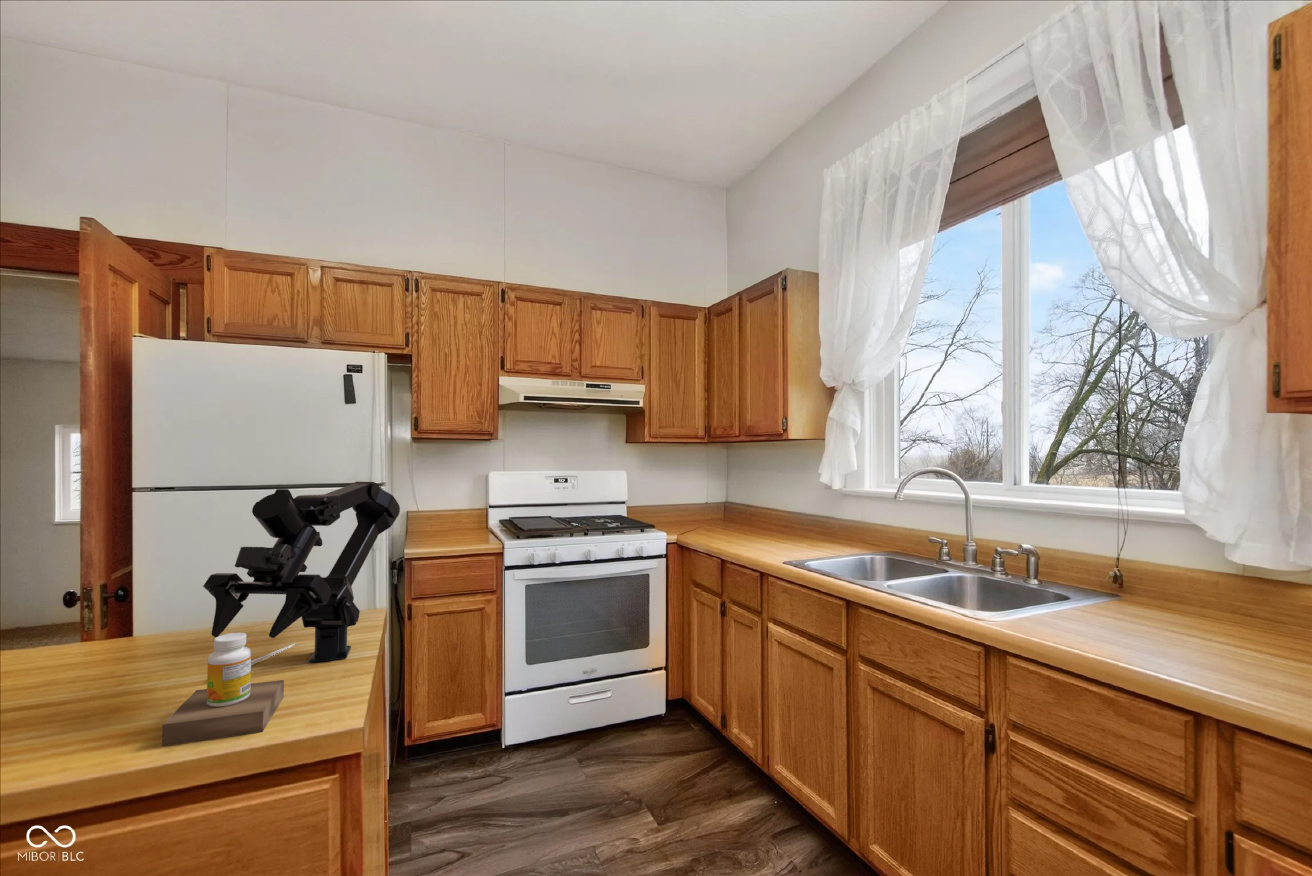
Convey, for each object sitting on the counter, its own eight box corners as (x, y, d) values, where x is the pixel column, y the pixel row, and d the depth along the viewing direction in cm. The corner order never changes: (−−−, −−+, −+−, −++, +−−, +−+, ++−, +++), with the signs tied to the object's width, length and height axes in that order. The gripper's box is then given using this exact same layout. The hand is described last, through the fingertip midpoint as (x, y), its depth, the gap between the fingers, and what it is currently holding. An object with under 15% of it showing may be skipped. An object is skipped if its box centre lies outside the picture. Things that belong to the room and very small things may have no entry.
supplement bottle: (204, 699, 87) (205, 636, 87) (246, 689, 91) (248, 628, 91) (209, 711, 83) (211, 645, 83) (253, 699, 87) (255, 636, 87)
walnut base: (195, 708, 90) (196, 689, 90) (283, 697, 95) (283, 679, 95) (161, 746, 79) (162, 724, 79) (262, 731, 83) (263, 711, 83)
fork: (302, 647, 120) (303, 638, 120) (224, 684, 100) (224, 673, 100) (288, 646, 120) (288, 638, 120) (207, 683, 100) (207, 672, 101)
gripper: (213, 525, 95) (152, 610, 84) (322, 527, 95) (276, 612, 84) (246, 562, 103) (195, 644, 92) (348, 563, 103) (308, 646, 92)
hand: (242, 636), depth 90 cm, fingers open, 9 cm apart
